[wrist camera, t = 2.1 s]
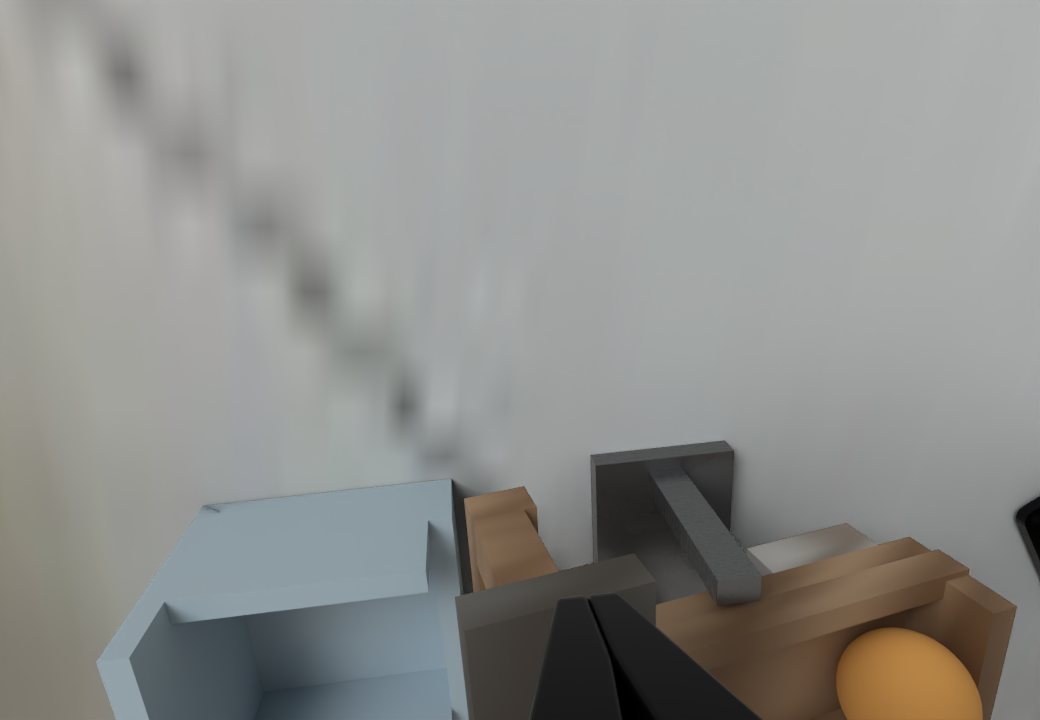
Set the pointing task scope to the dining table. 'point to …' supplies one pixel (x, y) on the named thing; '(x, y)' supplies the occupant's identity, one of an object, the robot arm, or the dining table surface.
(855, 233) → the dining table surface
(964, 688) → the ball
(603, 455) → the pivot stand
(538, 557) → the lever
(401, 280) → the dining table surface
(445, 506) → the box
